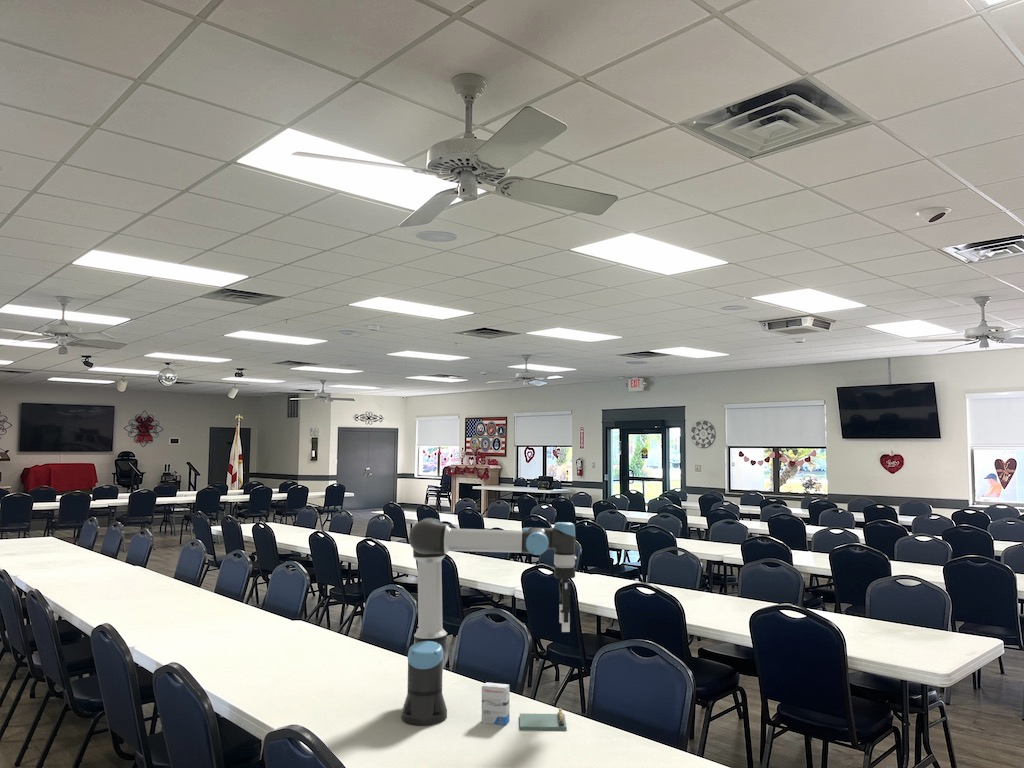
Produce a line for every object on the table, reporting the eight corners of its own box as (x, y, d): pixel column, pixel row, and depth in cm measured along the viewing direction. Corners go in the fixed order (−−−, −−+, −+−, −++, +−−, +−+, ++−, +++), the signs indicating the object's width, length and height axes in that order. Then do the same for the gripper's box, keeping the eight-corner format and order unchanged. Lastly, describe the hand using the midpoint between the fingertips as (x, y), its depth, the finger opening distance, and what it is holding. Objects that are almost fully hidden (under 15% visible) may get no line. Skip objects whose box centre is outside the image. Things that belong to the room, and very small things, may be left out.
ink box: (510, 720, 239) (510, 683, 241) (505, 725, 235) (506, 688, 236) (485, 717, 242) (486, 681, 243) (481, 723, 237) (481, 685, 238)
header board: (519, 729, 231) (519, 718, 231) (519, 716, 243) (519, 705, 243) (566, 730, 231) (566, 718, 231) (564, 717, 243) (564, 705, 243)
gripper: (578, 571, 246) (578, 635, 244) (572, 561, 271) (572, 619, 268) (556, 571, 246) (555, 635, 244) (552, 561, 271) (551, 619, 268)
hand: (564, 627), depth 256 cm, fingers open, 13 cm apart
